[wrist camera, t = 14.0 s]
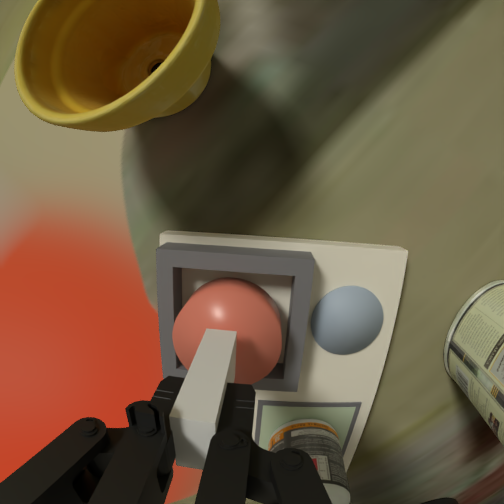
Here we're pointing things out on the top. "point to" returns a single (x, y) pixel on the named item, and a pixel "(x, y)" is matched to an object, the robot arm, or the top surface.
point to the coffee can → (480, 353)
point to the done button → (232, 325)
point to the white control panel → (297, 320)
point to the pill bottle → (316, 453)
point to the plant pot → (114, 60)
